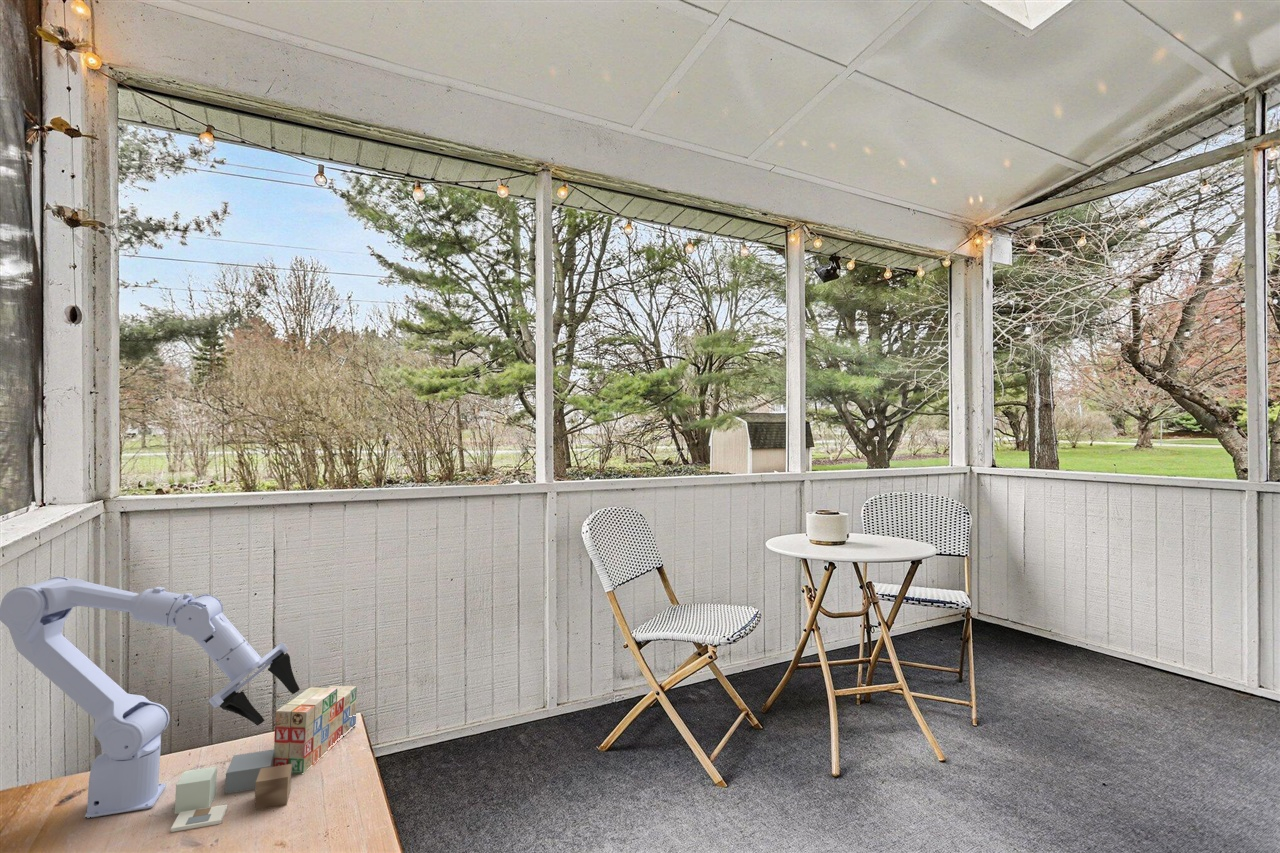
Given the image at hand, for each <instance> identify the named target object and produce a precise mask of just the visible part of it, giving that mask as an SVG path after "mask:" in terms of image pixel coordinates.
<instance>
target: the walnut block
mask: <svg viewBox="0 0 1280 853" xmlns="http://www.w3.org/2000/svg"><path fill="white" fill-rule="evenodd" d="M291 769H292V764H287V765H281V766H274V767H267V768H261V769H260V772H259V775H258V777H257V780H256V785H255V789H254V809H253V810H254V811H260V810H266V809H272V808H277V807H283V806H288V802H289V798H290V794H291V788H292V787H291V784H292V773H291Z"/></svg>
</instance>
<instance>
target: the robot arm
mask: <svg viewBox="0 0 1280 853" xmlns="http://www.w3.org/2000/svg"><path fill="white" fill-rule="evenodd" d="M193 595H194V594H193V593H191V592H186V593H185V594H182V593H176V592H171V591H166V588H165V587H163V586H156V587H153V588H148V589H145V590H143V591H141V592H139V593H138V592H134V591H129V590H125V589H120V588H115V587H112V586H107V585H103V584H98V583H94V582H89V581H86V580H83V579H81V578H69V577H66V576H55V577H52V578H48V579H47V580H44V581H40V582H37V583H33V584H30V585H24V586H18V587H16V588H13V589H11V590H9V591H8V592H7V593H6V594H5V595H4V596H3V597H2V599H1V602H0V622H1V623H2V624H3V625H5V627H7V628H8V630H9V634H10V636H11V639H12V642H13V644H14V645H13V646H14V647H15V650H16V651H17V652H18V653H19V654H20V655H22V657H24V658H25V659H26V660H27V661H28V662H29V663H30V664H31V665H32V666H34V667H35V668H36V669H37V670H38V671H40V672H41V673H42V675H44V676H45V677H47V678H48V680H50V681H51V682H52V683H53V684H54V685H55V686H57V688H59V689H60V690H61V691H62V692H63V693H64V694H65V695H67V697H69V698H70V699H71V700H72V701H73V702H74V703H76V705H78V706H79V707H80V708H82V710H84V711H85V713H87V714H88V715H89V716H90V717H92V718H93V719H94V724H93V729H92V735H93V736H94V737H95V738H96V740H98V742H99V743H100V747H101V750H102V752H103V753H102V754H98V755H97V756H96V758H94V760H93V763H92V765H91V768H90V771H89V778H88V788H87V789H88V790H87V805H86V813H85V815H84V818H85V817H87V818H86V819H89V818H90V817H91V818H96V817H102V816H107V815H108V816H109V815H115V814H122V813H127V812H133V811H140V810H146V809H151V808H153V807H154V806H155V804H156V803H157V802H158V799H159V798H160V796H161V795H162V793H163V792H164V790H165V788H166V786H167V783H165V782H164V783H162V782H161V783H159V782H160V769H161V768H160V767H161V752H162V751H161V749H162V748H161V746H162V740H161V739H162V733H163V732H164V731H165V730H166V729H167V727H168V726H169V724H170V712H169V710H168V709H167V708H166V707H165V706H164V705H163V704H161V703H158V702H153V701H150V700H149V699H148V698H147V697H145V696H144V695H139V694H134V693H133V694H132V693H128V692H126V691H125V690H124V689H123V688H122V687H121V686H120V685H119V684H118V683H117V682H115V681H114V680H113V679H112V678H111V677H110V676H108V674H106V672H104V671H103V670H102V669H101V668H100V667H99V666H98V665H97V664H95V662H93V661H92V660H91V659H90V658H88V657H87V655H86V654H84V653H83V652H82V651H81V650H80V649H78V648H77V647H76V646H75V645H74V644H73V643H72V642H71V641H70V640H69V639H67V638H66V637H65V636H64V635H63V629H64V626H65V622H66V620H67V619H68V617H69V615H70V614H71V612H72V610H73V609H74V608H76V607H85V608H93V609H102V610H108V611H115V612H117V611H118V612H125V613H130V615H131V617H132V619H133V620H134V621H136V622H142V623H149V624H154V625H159V626H163V627H164V626H165V627H171V628H175V627H176V628H175V631H176V632H177V633H179V634H181V635H183V636H190V637H191V638H192V639H193V640H195V642H196V643H197V644H198V645H199V646H200V647H201V648H202V650H204V652H205V653H206V654H207V655H208V657H210V659H211V660H212V661H213V662H214V663H215V665H217V667H218V668H219V669H220V670H221V671H222V673H224V675H225V677H227V678H228V679H229V681H230V682H229V683H228V684H226V686H224V687H223V688H221V690H219V691H218V692H216V694H214V695H213V696H212V697H210V698H209V699H208V700H207V701H208V702H209V704H210V705H211V706H212V707H213V708H214V709H216V708H217V707H219V708H221V709H222V710H224V711H227V712H231V713H235V714H237V715H239V716H241V717H243V718H244V719H246V720H248V721H250V722H252V723H253V724H255V726H259V725H262V723H263V722H265V720H266V719H264V717H263V715H262V714H261V713H260V712H259V711H258V710H257V709H256V708H255V707H254V706H253V705H252V703H251V702H250V700H249V699H248V697H247V695H246V694H245V692H244V691H243V690H242V691H239V690H241V689H242V687H243V686H245V685H246V684H247V683H249V682H250V681H251V680H253V679H254V678H255V677H256V676H258V675H259V674H260V673H261V672H263V671H264V670H265V669H266V668H267V671H268V672H270V673H271V674H272V675H273V676H275V677H276V678H277V679H278V680H279V681H280V682H281V683H282V685H284V687H285V688H286V689H287V690H288V692H289V693H291V694H292V695H294V694H296V693H297V692H299V691H300V689H301V688H300V686H299V685H298V683H297V680H296V678H295V676H294V672H293V668H292V664H291V656H290V655H289V653H288V651H289V648H288V647H287V645H286V644H285V643H284V642H281V643H279V644H278V645H277V646H276V647H274V648H273V649H272V650H270V651H269V652H268V653H266V654H265V655H263V656H262V657H261V655H260V654H258V652H257V651H256V650H255V649H254V648H253V647H252V645H251V644H250V643H249V641H248V640H247V639H246V638H245V637H244V636H243V634H242V633H241V632H239V630H238V629H237V628H236V627H235V625H233V623H232V622H231V621H230V620H229V619H228V618H227V616H226V615H225V614H224V606H223V602H222V601H221V600H220V599H219V598H218V597H216V596H213V595H211V594H209V593H204V594H201V595H198V596H196V597H194V596H193ZM257 669H258V670H257ZM255 670H257V671H256V672H254V671H255ZM252 672H254V673H253V674H251V673H252ZM250 674H251V675H250ZM249 675H250V677H248V678H247V679H246V680H244V679H245V678H246V677H247V676H249Z"/></svg>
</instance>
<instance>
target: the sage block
mask: <svg viewBox="0 0 1280 853" xmlns="http://www.w3.org/2000/svg"><path fill="white" fill-rule="evenodd" d="M217 777H218V766H217V765H216V766H211V767H205V768H204V767H203V768H197V769H190V770H184V772H183V773H182V775H181V776H180V778H179V779H178V780H177V783H176V784H175V795H174V796H175V797H174V798H175V799H174V815H177V814H179V813H180V812H184V811H190V810H196V809H202V808H208V807H211V805H212V802H213V800H214V799H215V796H216V794H217V780H218V779H217Z"/></svg>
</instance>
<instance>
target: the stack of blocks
mask: <svg viewBox="0 0 1280 853" xmlns="http://www.w3.org/2000/svg"><path fill="white" fill-rule="evenodd" d="M357 688H358V686H356V685H330V686H329V687H316V686H315V687H314V686H313V687H312V686H311V687H309V688H307V689H305V690H304V691H303V692H302V693H300V694H298V696H296V697H295V698H292V700H290V701H289V702H287V703H286V704H283V705H282V706H281V707H280V708H278V709H276V711H275V726H274V738H273V740H274V746H273V747H274V748H273V750H274V761H273V767H274V766H281V765H287V764H292V769H291V774H295V773H304V772H305V771H306V770H307V769H308V768H309V767H310V766H311V765H313V764H314V763H315V762H316V761H317V760H318V758H320V757H321V756H322V755H323V754H324V753H325V752H326V751H327V750H328V748H329V747H330V746H331V745H333V743H335V741H336V740H337V739H338V738H340V736H341V735H343V734H344V733H346V732H347V731H348V730H349V729H350V728H351V727H353V726H354V725H355V724H357V705H358V704H357V702H358V701H357V690H358V689H357ZM353 715H356V716H353ZM349 716H352V717H349ZM317 762H318V761H317ZM317 762H316V763H317ZM316 763H315V764H316ZM315 764H314V765H315ZM314 765H313V766H314ZM310 768H311V767H310ZM310 768H309V769H310ZM309 769H308V770H309ZM308 770H307V771H308ZM307 771H306V772H307ZM306 772H305V773H306ZM305 773H304V774H305Z"/></svg>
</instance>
